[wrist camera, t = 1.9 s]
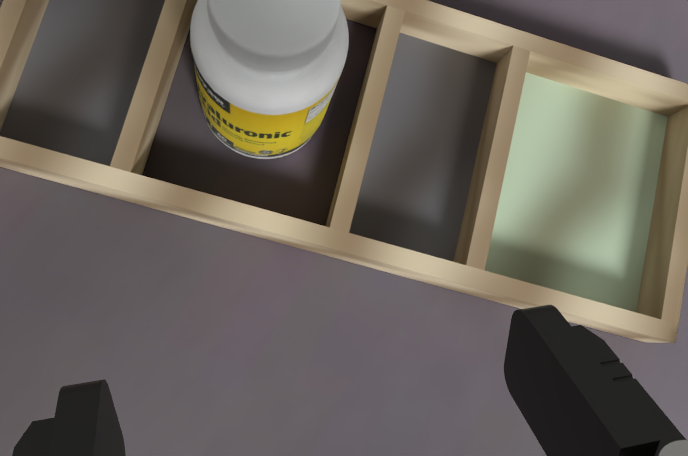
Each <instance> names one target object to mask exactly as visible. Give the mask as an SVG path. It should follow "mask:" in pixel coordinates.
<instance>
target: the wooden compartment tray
mask: <svg viewBox="0 0 688 456" xmlns="http://www.w3.org/2000/svg"><path fill="white" fill-rule="evenodd" d="M197 1H198V0H3V2H2V5H1V7H0V167H3V168H7V169H11V170H14V171H18V172H22V173H25V174H29V175H33V176H36V177H40V178H44V179H47V180H51V181H55V182H58V183H62V184H66V185H69V186H73V187H77V188H80V189H84V190H88V191H91V192H95V193H99V194H102V195H106V196H110V197H113V198H117V199H121V200H124V201H128V202H132V203H135V204H139V205H143V206H146V207H150V208H154V209H157V210H161V211H165V212H168V213H172V214H176V215H179V216H183V217H187V218H190V219H194V220H198V221H201V222H205V223H209V224H212V225H216V226H220V227H223V228H227V229H231V230H234V231H238V232H242V233H245V234H249V235H253V236H256V237H260V238H264V239H267V240H271V241H275V242H278V243H282V244H286V245H289V246H293V247H297V248H300V249H304V250H308V251H312V252H315V253H319V254H323V255H326V256H330V257H334V258H337V259H341V260H345V261H348V262H352V263H356V264H359V265H363V266H367V267H370V268H374V269H378V270H381V271H385V272H389V273H392V274H396V275H400V276H403V277H407V278H411V279H414V280H418V281H422V282H425V283H429V284H433V285H436V286H440V287H444V288H447V289H451V290H455V291H458V292H462V293H466V294H469V295H473V296H477V297H480V298H484V299H488V300H491V301H495V302H499V303H502V304H506V305H510V306H513V307H517V308H521V309H525V308H531V307H538V306H544V305H553V306H555V307H556V308H557V309H558V310H559V312H560V313H561V314H562V315H563V317H564V318H565V319H566V320H567V321H568V322H572V323H576V324H579V325H583V326H587V327H590V328H594V329H598V330H601V331H605V332H609V333H612V334H616V335H620V336H623V337H627V338H631V339H634V340H638V341H642V342H660V343H676V337H677V330H678V323H679V316H680V310H681V303H682V296H683V289H684V283H685V276H686V269H687V262H688V84H686V83H682V82H679V81H676V80H673V79H670V78H667V77H664V76H661V75H658V74H655V73H651V72H648V71H645V70H642V69H639V68H636V67H633V66H630V65H627V64H623V63H620V62H617V61H614V60H611V59H608V58H605V57H602V56H599V55H595V54H592V53H589V52H586V51H583V50H580V49H577V48H574V47H571V46H568V45H564V44H561V43H558V42H555V41H552V40H549V39H546V38H543V37H540V36H536V35H533V34H530V33H527V32H524V31H521V30H518V29H515V28H512V27H509V26H505V25H502V24H499V23H496V22H493V21H490V20H487V19H484V18H481V17H477V16H474V15H471V14H468V13H465V12H462V11H459V10H456V9H453V8H450V7H446V6H443V5H440V4H437V3H434V2H431V1H428V0H341V7H342V9H343V11H344V14H345V17H346V19H348V20H351V21H354V22H357V23H360V24H364V25H367V26H370V27H373V28H376V29H377V30H376V34H375V38H374V42H373V46H372V50H371V53H370V57H369V61H368V65H367V69H366V73H365V76H364V80H363V84H362V88H361V92H360V96H359V99H358V103H357V107H356V111H355V115H354V119H353V122H352V126H351V130H350V134H349V138H348V141H347V145H346V149H345V153H344V157H343V161H342V164H341V168H340V172H339V176H338V180H337V184H336V187H335V191H334V195H333V199H332V203H331V207H330V210H329V214H328V218H327V222H326V226H322V225H319V224H315V223H312V222H308V221H304V220H301V219H297V218H294V217H290V216H286V215H283V214H279V213H276V212H272V211H268V210H265V209H261V208H258V207H254V206H250V205H247V204H243V203H240V202H236V201H232V200H229V199H225V198H222V197H218V196H214V195H211V194H207V193H204V192H200V191H196V190H193V189H189V188H186V187H182V186H178V185H175V184H171V183H167V182H164V181H160V180H157V179H153V178H149V177H146V176H142V174H143V171H144V168H145V165H146V162H147V159H148V156H149V152H150V149H151V146H152V143H153V140H154V137H155V134H156V131H157V128H158V125H159V121H160V118H161V115H162V112H163V109H164V106H165V103H166V100H167V97H168V94H169V90H170V87H171V84H172V81H173V78H174V75H175V72H176V69H177V66H178V63H179V59H180V56H181V53H182V50H183V47H184V44H185V41H186V38H187V35H188V32H189V28H190V25H191V19H192V14H193V11H194V8H195V6H196V3H197Z"/></svg>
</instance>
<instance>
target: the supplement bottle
mask: <svg viewBox="0 0 688 456" xmlns="http://www.w3.org/2000/svg"><path fill="white" fill-rule="evenodd" d="M190 43H191V51H192V58H193V62H194V68H195V74H196V80H197V87H198V92H199V98H200V103H201V107H202V111H203V114H204V117H205V119H206V122H207V124H208V126H209V127H210V129H211V130H212V132H213V133H214V134H215V136H216V137H217V138H218V139H219V140H220V141H221V142H222V143H223V144H225V145H226V146H227V147H229V148H230V149H232V150H233V151H235V152H237V153H239V154H242V155H244V156H248V157H252V158H258V159H272V158H279V157H283V156H286V155H289V154H291V153H293V152H295V151H297V150H298V149H300V148H301V147H302V146H304V145H305V144H306V143H307V142H308V141H309V140H310V139H311V138H312V137H313V135H314V134H315V133H316V131H317V130H318V128H319V126H320V124H321V122H322V120H323V118H324V115H325V113H326V110H327V108H328V105H329V103H330V100H331V98H332V95H333V93H334V90H335V88H336V85H337V83H338V80H339V78H340V75H341V73H342V70H343V68H344V65H345V61H346V57H347V52H348V46H349V33H348V25H347V21H346V17H345V14H344V11H343V9H342V7H341V0H198V1H197V3H196V6H195V8H194V11H193V14H192V19H191V26H190Z"/></svg>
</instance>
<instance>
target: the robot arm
mask: <svg viewBox="0 0 688 456" xmlns="http://www.w3.org/2000/svg"><path fill="white" fill-rule="evenodd" d="M504 374H505V380H506V384H507V387H508V389H509V392H510V394H511V396H512V397H513V399H514V401H515V403H516V404H517V406H518V408H519V409H520V411H521V413H522V414H523V416H524V418H525V419H526V421H527V423H528V425H529V426H530V428H531V430H532V431H533V433H534V435H535V436H536V438H537V440H538V441H539V443H540V445H541V447H542V448H543V450H544V452H545V453H546V455H547V456H688V440H686V439H685V438H684V436H683V435H682V434H681V433H680V432H679V431H678V429H677V428H676V427H675V426H674V425H673V423H672V422H671V421H670V420H669V419H668V417H667V416H666V415H665V414H664V413H663V411H662V410H661V409H660V408H659V406H658V405H657V404H656V403H655V402H654V400H653V399H652V398H651V397H650V396H649V394H648V393H647V392H646V391H645V390H644V388H643V387H642V386H641V385H640V384H639V382H638V381H637V380H636V379H633V377H632V374H631V373H630V371H629V370H628V369H627V368H626V367H625V365H624V364H623V363H620V361H619V358H618V357H617V356H616V354H615V353H614V352H613V351H612V350H611V348H610V347H609V346H608V345H607V344H606V342H605V341H604V340H603V339H601V338H600V337H598V336H597V335H595V334H594V333H592V332H590V331H589V330H587V329H586V328H584V327H583V326H581V325H578V326H572V327H571V326H570V324H569V323H568V322H567V320H566V319H565V318H564V317H563V315H562V314H561V313H560V312H559V310H558V309H557V308H556V307H555V306H553V305H544V306H538V307H531V308H525V309H519V310H516V311H514V313H513V315H512V319H511V325H510V331H509V337H508V343H507V349H506V355H505V362H504ZM12 456H125V446H124V440H123V435H122V431H121V428H120V424H119V421H118V417H117V414H116V411H115V407H114V404H113V400H112V397H111V393H110V390H109V387H108V384H107V382H106V380H99V381H93V382H87V383H81V384H75V385H69V386H63V387H62V388H61V389H60V392H59V396H58V402H57V407H56V413H55V418H50V419H44V420H39V421H33V422H32V423H31V424H30V426H29V427H28V429H27V430H26V432H25V433H24V434H23V436H22V437H21V439H20V440H19V441H18V443H17V444H16V446H15V447H14V451H13V455H12Z"/></svg>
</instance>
